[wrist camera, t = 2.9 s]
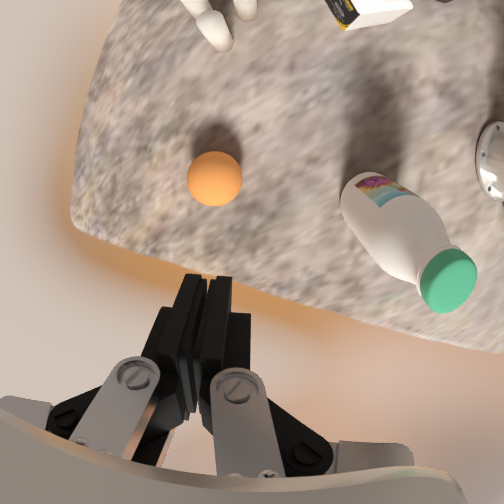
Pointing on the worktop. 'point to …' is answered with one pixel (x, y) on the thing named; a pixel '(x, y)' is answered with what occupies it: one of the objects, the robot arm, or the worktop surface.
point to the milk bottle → (408, 240)
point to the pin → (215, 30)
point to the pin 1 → (197, 6)
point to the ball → (214, 178)
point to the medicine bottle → (366, 12)
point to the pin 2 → (246, 9)
